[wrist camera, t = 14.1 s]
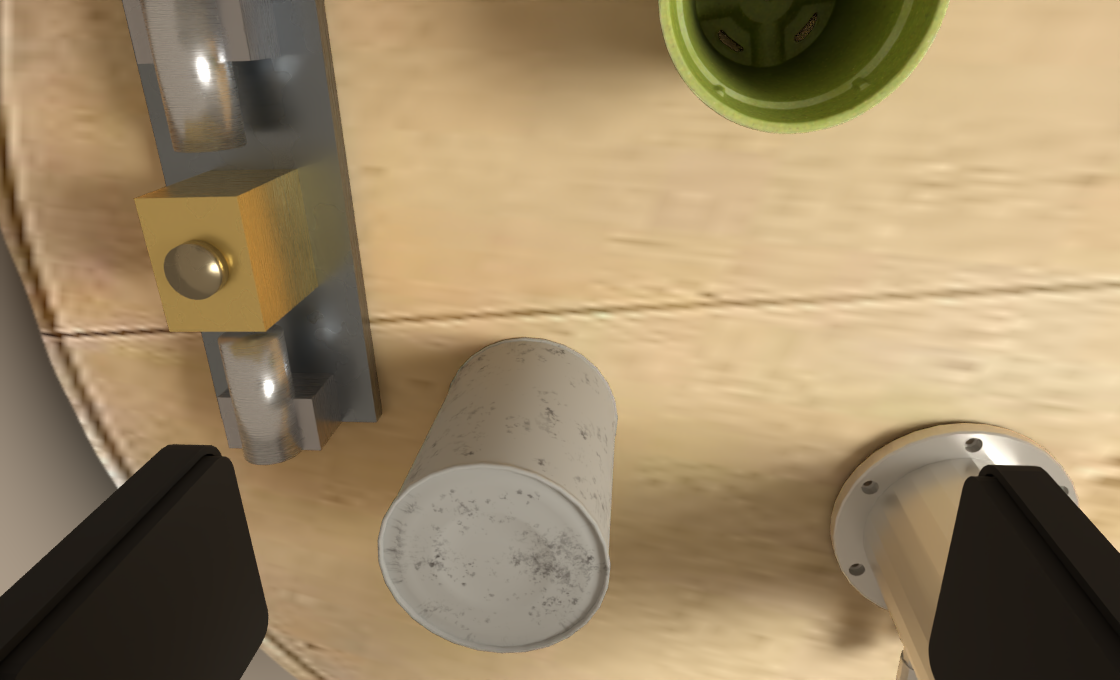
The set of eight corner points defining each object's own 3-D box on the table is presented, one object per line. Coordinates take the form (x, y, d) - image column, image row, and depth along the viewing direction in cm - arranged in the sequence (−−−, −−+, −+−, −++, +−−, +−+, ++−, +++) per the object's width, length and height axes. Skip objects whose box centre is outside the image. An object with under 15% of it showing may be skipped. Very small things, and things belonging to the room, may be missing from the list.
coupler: (209, 170, 37) (121, 202, 30) (297, 168, 36) (226, 201, 30) (235, 286, 39) (159, 338, 33) (318, 286, 39) (256, 338, 32)
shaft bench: (382, 413, 42) (348, 467, 37) (230, 410, 43) (177, 462, 38) (321, -17, 34) (266, -23, 29) (133, -10, 35) (47, -14, 30)
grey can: (551, 515, 44) (522, 687, 33) (415, 427, 43) (335, 575, 31) (653, 404, 41) (659, 553, 29) (508, 302, 39) (457, 419, 28)
